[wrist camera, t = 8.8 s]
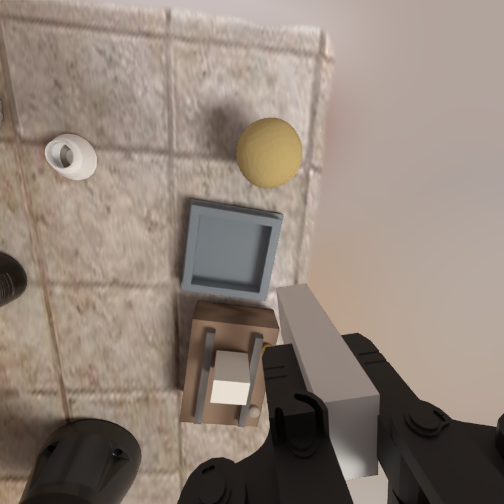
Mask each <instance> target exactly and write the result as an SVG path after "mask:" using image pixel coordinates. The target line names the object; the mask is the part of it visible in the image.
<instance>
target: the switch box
mask: <svg viewBox="0 0 504 504" xmlns="http://www.w3.org/2000/svg"><path fill="white" fill-rule="evenodd" d="M278 333H279V326H278V323H277V320H276V317H275V314H274V311H273V310H268V309H260V308H252V307H244V306H236V305H228V304H220V303H211V302H203V301H198V303H197V306H196V310H195V313H194V316H193V320H192V328H191V336H190V344H189V352H188V360H187V367H186V375H185V383H184V391H183V399H182V407H181V415H180V422H192V423H194V424H201V423H207V424H222V425H237V426H238V427H245V426H253V427H257V426H258V422H259V417H260V413H261V409H262V404H263V400H264V395H265V391H266V388H265V380H264V373H263V365H262V355H263V353H264V350H265V348H266V347H270V346H276V342H277V338H278ZM217 350H220V351H230V352H240V353H248V362H249V373H250V387H249V392H248V397H247V402H246V405H236V404H223V403H210V399H211V390H212V380H213V371H214V364H215V358H216V352H217Z"/></svg>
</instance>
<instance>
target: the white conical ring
mask: <svg viewBox="0 0 504 504" xmlns="http://www.w3.org/2000/svg"><path fill="white" fill-rule="evenodd" d="M65 144H66V145H67V146H68V147H69V148H70V150H69V151H68V152H67V154H66V158H67V161H68V162H69V164H70V166H69V167H67V168H65V167H64V166H63V164H62V162H61V160H60V151H61V148H62V147H63V146H64V145H65ZM45 156H46V159H47V161H48V162H49V163H50V165H51V166H53V167H54V169H55V170H56V171H57V172H58V173H59V174H60V175H62V176H64V177H66V178H68V179H72V180H83V179H86V178H89V177H90V176H91V175H92V174H93V173H94V171H95V169H96V166H97V156H96V153H95V151H94V149H93V147H92V146H91V145H90V144H89V143H88V141H87V140H85V139H83V138H82V137H80V136H78V135H73V134H63V135H60V136H57V137H56V138H55V139H53V140H52V141H51V142H50V143H48V145H47V146H46V148H45Z"/></svg>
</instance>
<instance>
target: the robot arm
mask: <svg viewBox="0 0 504 504" xmlns="http://www.w3.org/2000/svg"><path fill="white" fill-rule="evenodd" d="M276 289H277V298H278V308H279V317H280V326H281V335H282V339H283V342H284V345H277V346H270V347H266V348H265V350H264V353H263V355H262V365H263V373H264V380H265V388H266V396H267V403H268V411H269V422H270V429H269V433H268V436H267V438H266V440H265V442H264V444H263V445H262V446H261V447H260V448H259V449H258V450H257V451H256V452H255V453H253V454H252V455H250V456H249V457H247V458H245V459H243V460H241V461H240V462H238V463H236V464H235V463H234V461H232V460H229V459H226V458H224V457H220V458H211V459H209V460H208V461H206V462H204V463H202V464H200V465H199V466H198V467H197V468H196V469H195V470H194V471H193V472H192V473H191V474H190V476H189V478H188V480H187V482H186V484H185V485H184V487H183V490H182V492H181V495H180V498H179V500H178V503H177V504H353V501H352V498H351V495H350V492H349V490H348V487H347V484H346V481H345V480H347V479H353V478H360V477H367V476H373V475H378V460H379V462H380V464H381V466H382V468H383V470H384V472H385V474H386V476H387V478H388V503H387V504H504V414H503V415H502V416H501V417H500V418H499V419H498V423H497V427H493V426H486V425H479V424H473V423H467V422H461V421H457V420H453V419H451V418H450V417H449V416H448V415H447V414H446V413H445V412H443V411H442V410H441V409H440V408H438V407H436V406H434V405H432V404H430V403H428V402H425V401H422V400H420V399H419V398H418V397H417V396H416V395H415V394H414V393H413V391H412V390H411V389H410V388H409V386H408V385H407V384H406V383H405V382H404V381H403V379H402V378H401V377H400V376H399V374H398V373H397V372H396V371H395V370H394V368H393V367H392V366H391V365H390V363H389V362H387V361H386V359H385V357H384V356H383V355H382V354H381V353H379V350H378V349H377V348H376V347H375V345H374V344H373V343H372V342H371V341H370V340H369V339H367V338H366V337H364V336H362V335H361V334H359V333H354V334H347V335H340V334H339V332H338V331H337V329H336V328H335V326H334V324H333V323H332V321H331V320H330V319H329V317H328V315H327V314H326V312H325V311H324V309H323V308H322V307H321V305H320V303H319V302H318V300H317V299H316V297H315V296H314V294H313V293H312V291H311V290H310V288H309V287H308V285H307V284H300V285H293V286H286V287H279V288H276ZM140 463H141V450H140V447H139V445H138V443H137V441H136V440H135V438H134V437H133V436H132V435H131V434H130V433H129V432H127V431H126V430H124V429H123V428H121V427H119V426H117V425H115V424H112V423H109V422H105V421H99V420H82V421H76V422H72V423H69V424H67V425H65V426H63V427H61V428H59V429H58V430H56V431H55V432H54V433H53V434H52V435H51V436H50V438H49V439H48V440H47V442H46V443H45V445H44V446H43V447H42V449H41V450H40V452H39V454H38V455H37V457H36V460H35V463H34V465H33V468H32V470H31V473H30V476H29V478H28V481H27V484H26V486H25V489H24V492H23V494H22V497H21V499H20V502H19V504H120V503H121V501H122V500H123V498H124V497H125V495H126V493H127V492H128V490H129V489H130V487H131V486H132V484H133V482H134V480H135V478H136V475H137V472H138V469H139V466H140Z"/></svg>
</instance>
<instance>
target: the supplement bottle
mask: <svg viewBox="0 0 504 504" xmlns="http://www.w3.org/2000/svg"><path fill="white" fill-rule="evenodd" d="M26 285H27V278H26V274H25V272H24V270H23V268H22V267H21V266H20V265H19V264H18V263H17V262H16V261H15V260H13V259H12V258H10V257H8V256H6V255H3V254H0V307H2V306H4V305H6V304H8V303H10V302H12V301H13V300H15V299H17V298H18V297H20V296H21V295H22V294H23V292H24V291H25V289H26Z"/></svg>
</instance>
